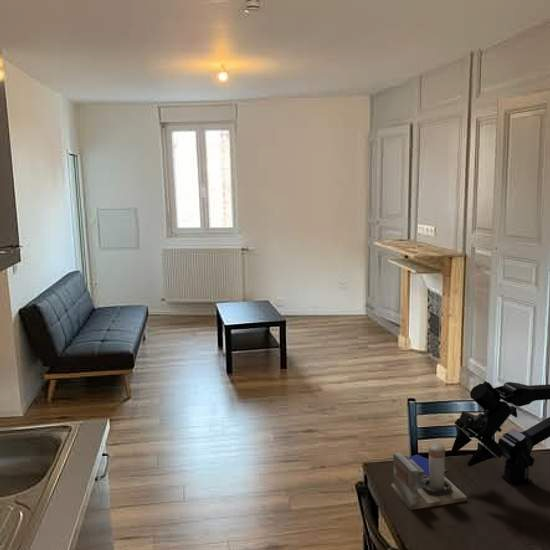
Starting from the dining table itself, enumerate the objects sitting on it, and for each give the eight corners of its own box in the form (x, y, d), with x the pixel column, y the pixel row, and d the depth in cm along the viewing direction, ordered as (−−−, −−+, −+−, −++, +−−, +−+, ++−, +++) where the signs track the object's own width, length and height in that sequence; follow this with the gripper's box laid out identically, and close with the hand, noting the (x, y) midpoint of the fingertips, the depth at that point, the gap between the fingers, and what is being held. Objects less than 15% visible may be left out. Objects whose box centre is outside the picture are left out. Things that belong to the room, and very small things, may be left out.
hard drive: (400, 460, 187) (429, 475, 177) (417, 453, 192) (446, 467, 182) (400, 465, 188) (429, 479, 177) (417, 458, 192) (446, 472, 182)
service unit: (443, 479, 176) (444, 445, 175) (466, 500, 164) (467, 464, 162) (391, 487, 172) (391, 452, 171) (410, 509, 160) (410, 472, 158)
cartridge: (444, 485, 170) (444, 444, 168) (445, 493, 166) (445, 451, 164) (428, 484, 171) (428, 443, 169) (429, 492, 167) (429, 450, 165)
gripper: (459, 392, 177) (427, 431, 176) (494, 413, 159) (458, 456, 158) (482, 413, 179) (451, 451, 179) (519, 436, 161) (484, 479, 160)
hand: (460, 458), depth 169 cm, fingers open, 9 cm apart
